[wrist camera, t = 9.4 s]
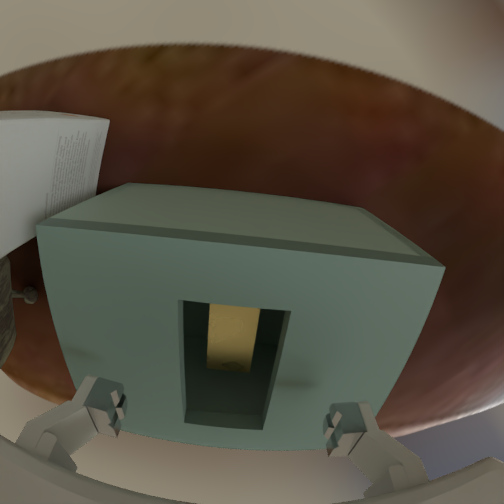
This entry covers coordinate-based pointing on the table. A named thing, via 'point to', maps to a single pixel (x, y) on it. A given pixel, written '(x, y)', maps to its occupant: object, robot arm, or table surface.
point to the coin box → (234, 294)
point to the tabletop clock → (10, 308)
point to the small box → (45, 168)
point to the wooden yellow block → (231, 337)
